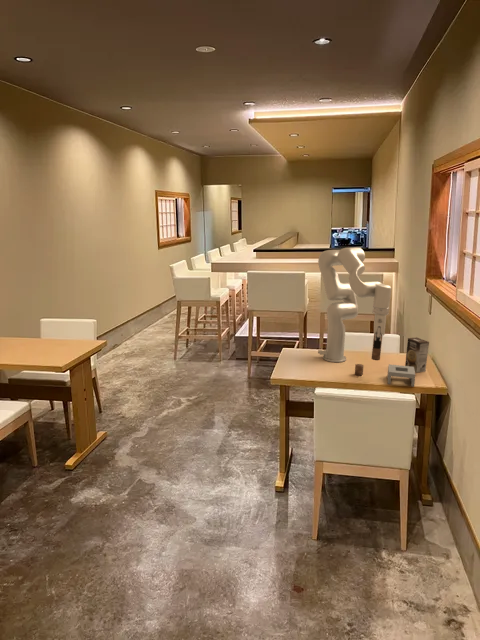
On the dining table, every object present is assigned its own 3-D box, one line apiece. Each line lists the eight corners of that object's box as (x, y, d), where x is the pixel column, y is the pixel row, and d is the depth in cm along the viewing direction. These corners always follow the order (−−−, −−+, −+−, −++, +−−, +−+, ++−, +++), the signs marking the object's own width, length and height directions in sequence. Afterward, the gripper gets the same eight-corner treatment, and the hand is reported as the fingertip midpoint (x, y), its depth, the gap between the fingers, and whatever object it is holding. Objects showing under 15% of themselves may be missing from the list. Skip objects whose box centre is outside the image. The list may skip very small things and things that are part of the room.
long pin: (371, 359, 245) (374, 330, 241) (371, 357, 249) (374, 328, 245) (379, 360, 244) (383, 331, 240) (379, 358, 248) (383, 328, 244)
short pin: (354, 375, 252) (355, 366, 250) (354, 373, 255) (355, 363, 254) (362, 376, 251) (363, 366, 249) (362, 373, 254) (363, 364, 253)
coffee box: (404, 367, 266) (407, 337, 262) (413, 366, 268) (416, 336, 264) (416, 372, 257) (419, 342, 254) (426, 371, 260) (429, 341, 256)
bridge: (387, 383, 241) (388, 371, 240) (387, 375, 252) (388, 364, 251) (414, 386, 238) (415, 374, 237) (412, 378, 249) (413, 366, 248)
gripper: (389, 315, 232) (384, 353, 236) (388, 307, 247) (384, 343, 252) (372, 313, 233) (368, 351, 238) (373, 306, 249) (369, 341, 254)
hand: (376, 346), depth 245 cm, fingers closed on long pin, 4 cm apart
